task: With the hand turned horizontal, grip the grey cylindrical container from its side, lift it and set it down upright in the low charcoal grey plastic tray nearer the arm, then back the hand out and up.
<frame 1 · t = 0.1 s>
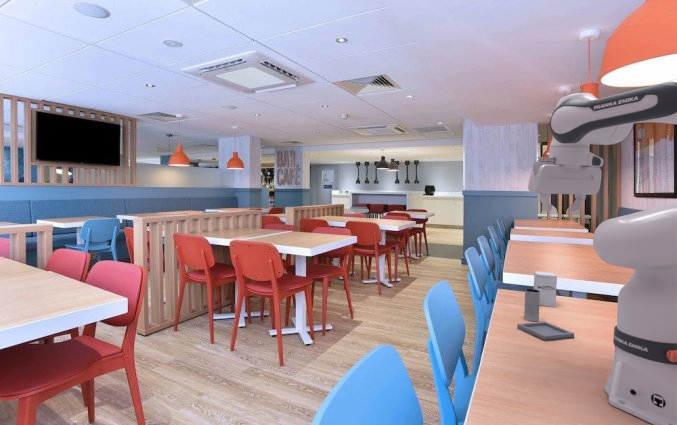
hand: (560, 211, 98), 39 cm above the table, tool pointing down, fingers open, 8 cm apart
supplement box: (544, 304, 149), on the table
tray: (544, 333, 116), on the table
grey cylindrical container: (531, 320, 129), on the table
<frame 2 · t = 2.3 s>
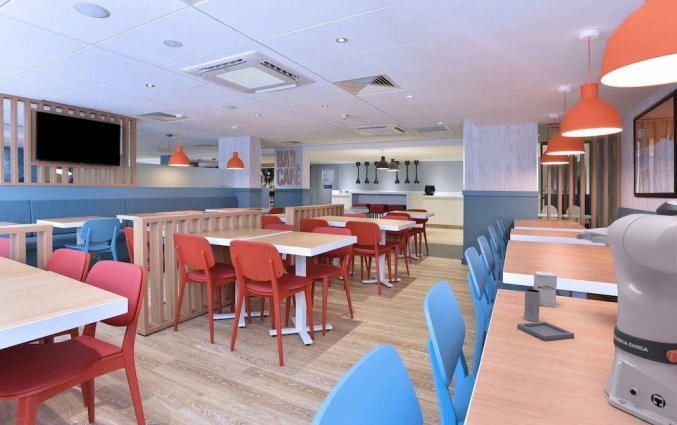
hand: (584, 238, 125), 29 cm above the table, tool horizontal, fingers open, 8 cm apart
nothing on the table moved.
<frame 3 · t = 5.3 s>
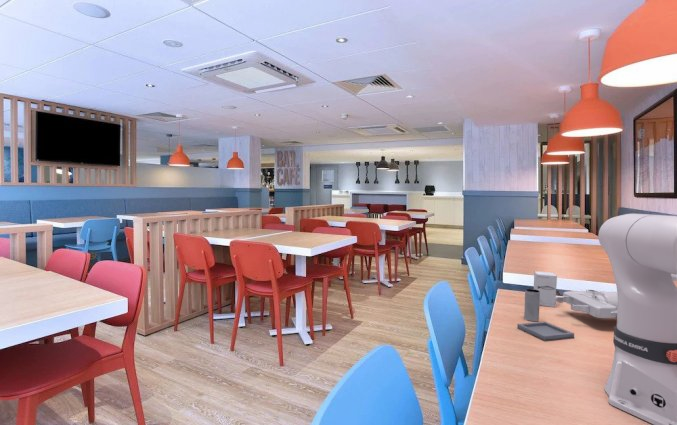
hand: (564, 303, 128), 6 cm above the table, tool horizontal, fingers open, 8 cm apart
nothing on the table moved.
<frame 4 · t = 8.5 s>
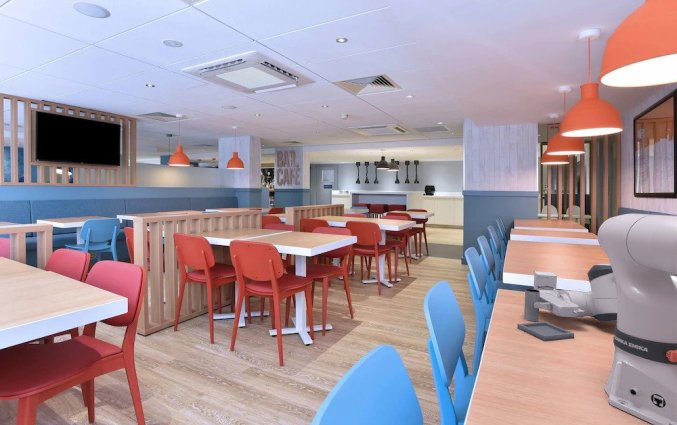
hand: (529, 302, 129), 6 cm above the table, tool horizontal, fingers closed on grey cylindrical container, 4 cm apart
grey cylindrical container: (531, 320, 129), on the table, touching gripper
everything else where it was.
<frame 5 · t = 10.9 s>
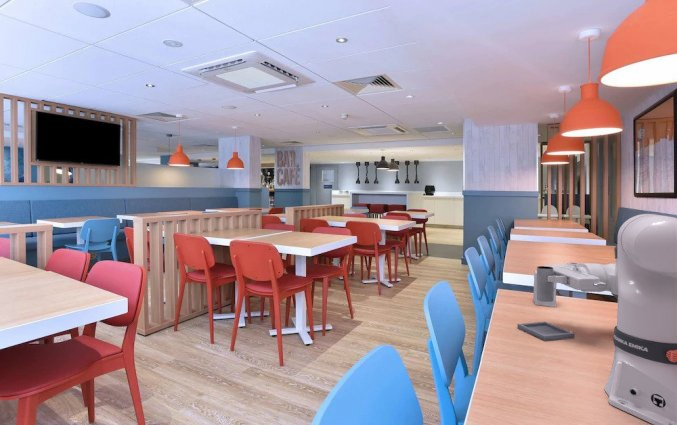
hand: (542, 276, 115), 18 cm above the table, tool horizontal, fingers closed on grey cylindrical container, 4 cm apart
grey cylindrical container: (545, 300, 115), point 10 cm above the table, touching gripper
everything else where it was.
when the fingers open (8 cm above the table, at t = 13.6 s): grey cylindrical container stays where it is, resting on tray.
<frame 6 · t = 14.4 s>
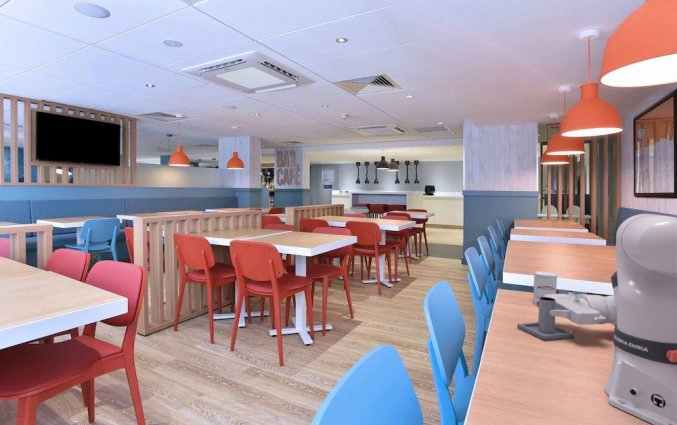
hand: (542, 307, 115), 8 cm above the table, tool horizontal, fingers open, 8 cm apart
grey cylindrical container: (546, 331, 116), resting on tray
everything else where it was.
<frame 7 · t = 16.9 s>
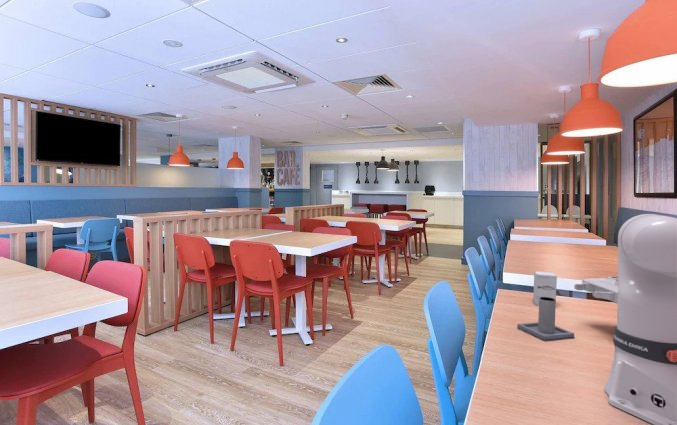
hand: (584, 290, 115), 14 cm above the table, tool horizontal, fingers open, 8 cm apart
nothing on the table moved.
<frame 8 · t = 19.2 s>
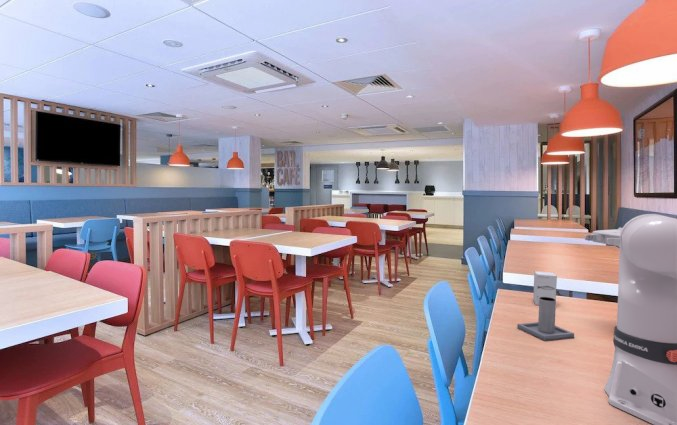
hand: (595, 239, 113), 30 cm above the table, tool horizontal, fingers open, 8 cm apart
nothing on the table moved.
at the end: grey cylindrical container 0.5 cm off-centre on the tray, point 0.4 cm above the tray's base; grey cylindrical container tilted 0°; the gripper is holding nothing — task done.
